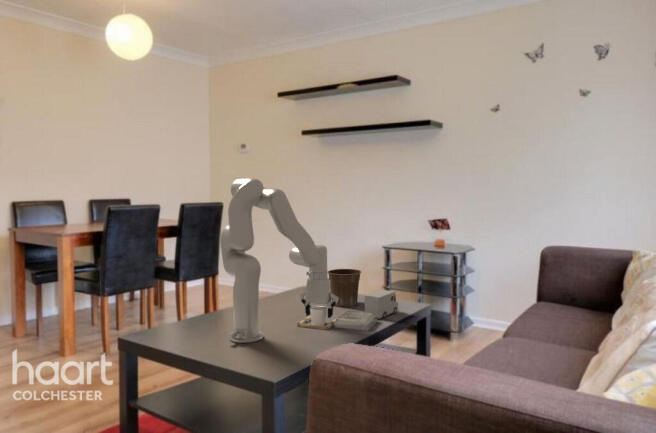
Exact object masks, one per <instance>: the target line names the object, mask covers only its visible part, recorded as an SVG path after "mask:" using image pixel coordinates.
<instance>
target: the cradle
mask: <svg viewBox="0 0 656 433" xmlns="http://www.w3.org/2000/svg"><path fill="white" fill-rule="evenodd" d="M337 319H338V318H334V319H333V320H331V321H330V322H328V323H327V324H326V325H313V324H311V323H307V322H309V321H311V315H308V316H306V318H303V319H302V320H301V321H299V322H298V323H297V324H296V326H297V327H299V328H310V329H315V330H324V331H325V330H326V331H327V330H328V329H330V328H331V327H332V326H335V320H337Z"/></svg>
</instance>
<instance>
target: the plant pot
mask: <svg viewBox="0 0 656 433" xmlns="http://www.w3.org/2000/svg"><path fill="white" fill-rule="evenodd" d="M361 274H362V271H361V269H360V270H359V269H355V268H334V269H330V270H327V275H328V278H329V281H330V287H331V293H332V294H334V295H335V296H337V297H338V298H339V299H338V301H337V304H336V305H335V306H334V307H344V308H350V307H355V306H357V304H358V298H359V285H360V284H359V283H360V280H361V279H360V278H361ZM331 302H332V303H333V302H334V299H333V298H331Z"/></svg>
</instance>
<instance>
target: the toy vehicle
mask: <svg viewBox="0 0 656 433" xmlns="http://www.w3.org/2000/svg"><path fill="white" fill-rule="evenodd" d="M398 309H399V302H397V295H396V291H392V290H387V289H379V290H375V291H373V292H370V293H366V294H364V312H365V313H374V316H377V320H379V319H386V318H387V316H389V315H390V314H396V313H397V311H398Z"/></svg>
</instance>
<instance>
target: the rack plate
mask: <svg viewBox="0 0 656 433" xmlns="http://www.w3.org/2000/svg"><path fill="white" fill-rule="evenodd" d="M336 319H337V320H335V324H334V328H339V329H348V330H357V331H366V332H369V331H370V329H372V327H374V326H375V325H376V324H377V322H378V319H377V316H374V313H365V311H364V312H362V311H353V310H352V311H351V310H347V311H345V312H343V314H341V315H340V316H338V318H336Z"/></svg>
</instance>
